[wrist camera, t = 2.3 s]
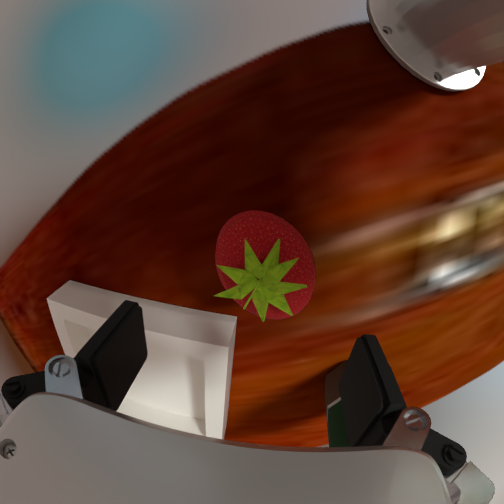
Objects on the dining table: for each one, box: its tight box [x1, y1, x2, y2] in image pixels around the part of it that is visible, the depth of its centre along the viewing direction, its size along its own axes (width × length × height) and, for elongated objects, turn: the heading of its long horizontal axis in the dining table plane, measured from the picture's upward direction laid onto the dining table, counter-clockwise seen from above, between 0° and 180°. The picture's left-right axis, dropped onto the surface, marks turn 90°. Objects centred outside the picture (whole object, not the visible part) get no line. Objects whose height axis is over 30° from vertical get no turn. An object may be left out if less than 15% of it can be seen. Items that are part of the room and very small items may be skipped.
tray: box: [47, 280, 237, 439], centre depth 28 cm, size 20×20×4 cm
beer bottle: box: [325, 360, 350, 447], centre depth 16 cm, size 8×8×24 cm
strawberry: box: [214, 210, 316, 322], centre depth 18 cm, size 6×8×10 cm
